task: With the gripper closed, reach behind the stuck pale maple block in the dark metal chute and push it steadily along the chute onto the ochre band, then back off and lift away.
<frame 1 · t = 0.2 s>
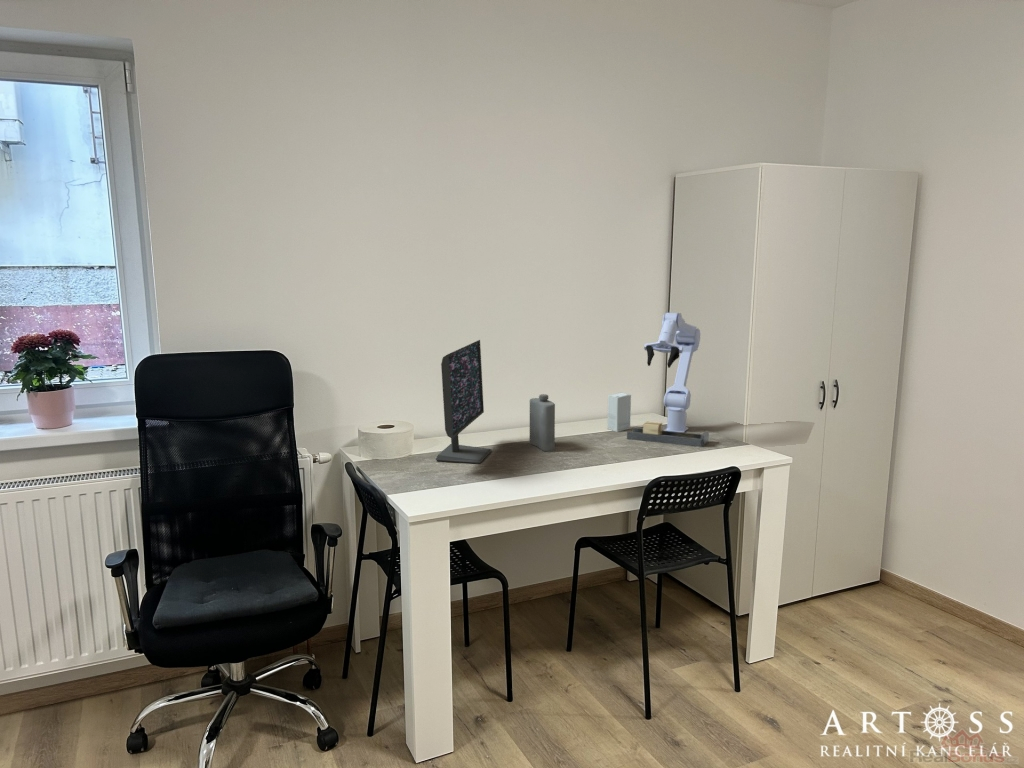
hand: (658, 365, 286), 31 cm above the table, tool tilted 45°, fingers open, 7 cm apart
flask: (542, 447, 290), on the table
computer monitor: (464, 457, 276), on the table
skincare box: (618, 429, 318), on the table
maple block: (652, 429, 302), point 4 cm above the table, slide at 0.0 cm
chute: (667, 440, 300), on the table
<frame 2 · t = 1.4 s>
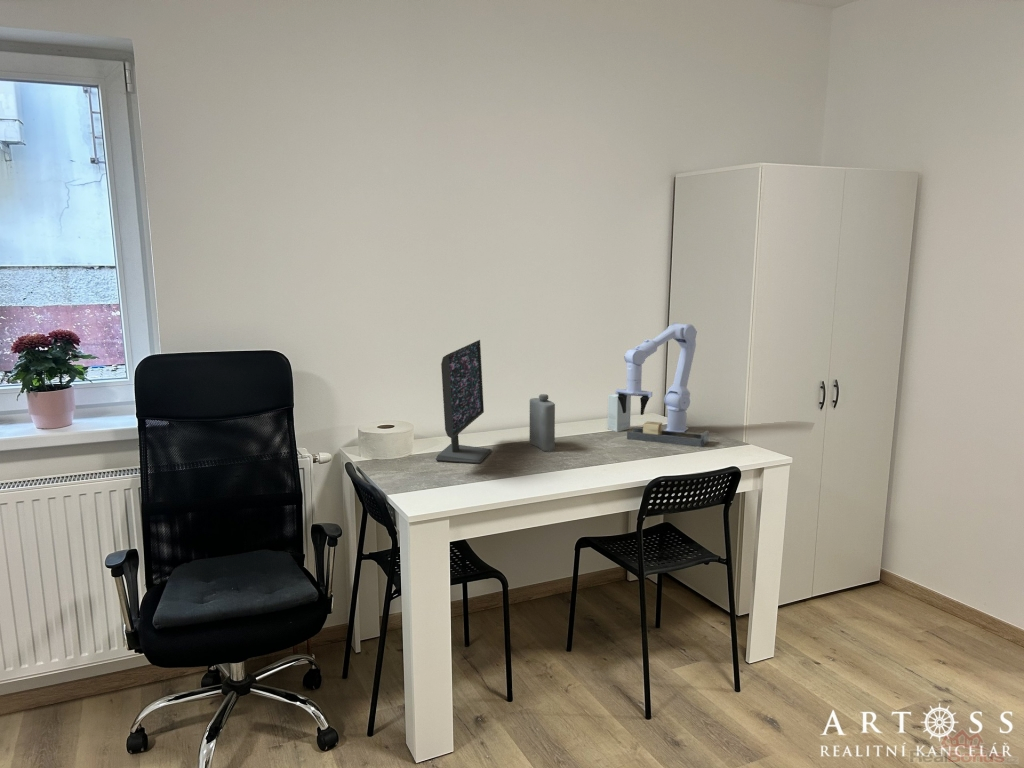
hand: (633, 413, 304), 9 cm above the table, tool pointing down, fingers open, 7 cm apart
nothing on the table moved.
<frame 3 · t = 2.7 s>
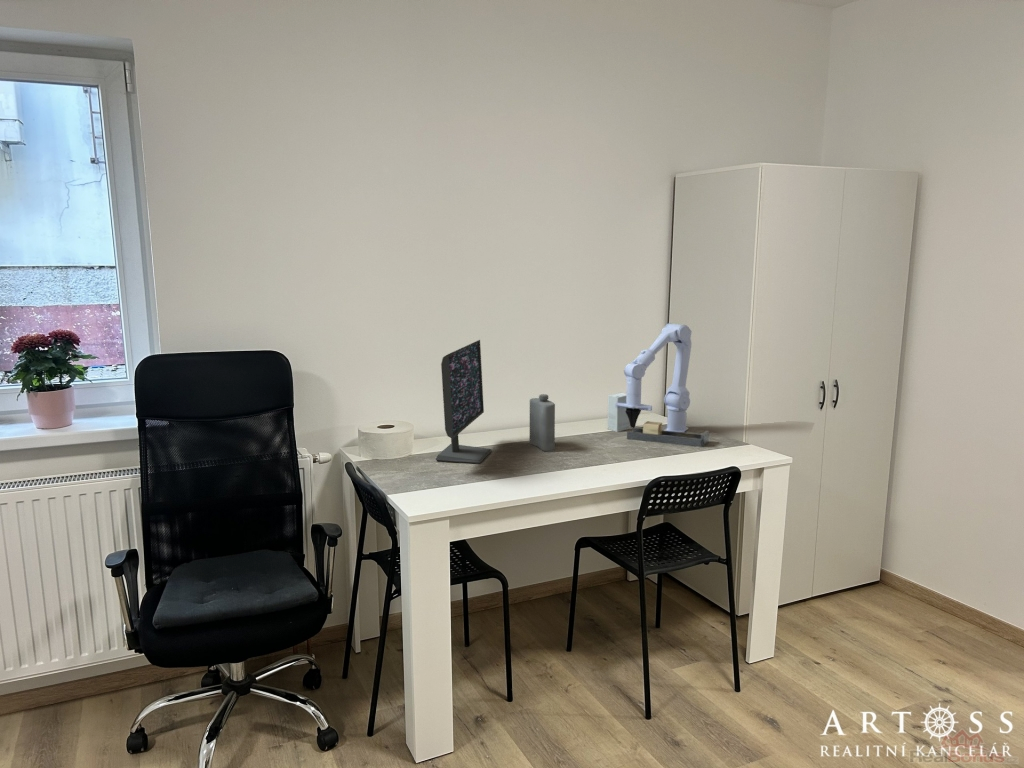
hand: (632, 427, 305), 4 cm above the table, tool pointing down, fingers closed
nothing on the table moved.
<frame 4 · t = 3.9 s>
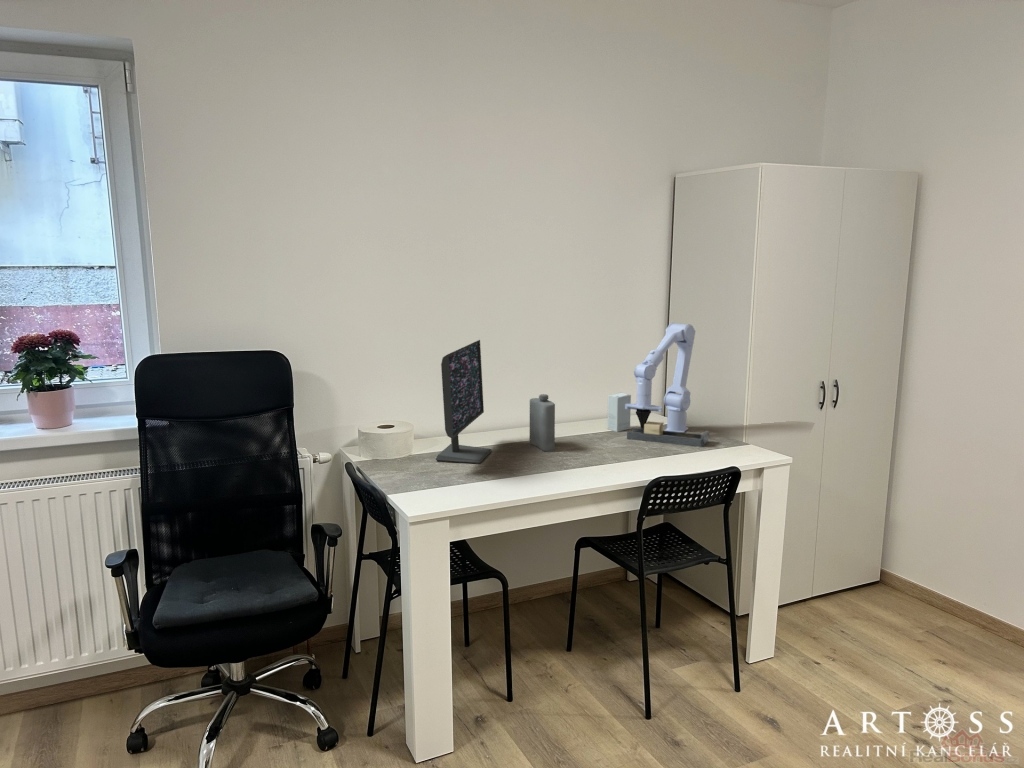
hand: (643, 428, 303), 4 cm above the table, tool pointing down, fingers closed
maple block: (653, 429, 301), point 4 cm above the table, slide at 0.4 cm, touching gripper
everything else where it was.
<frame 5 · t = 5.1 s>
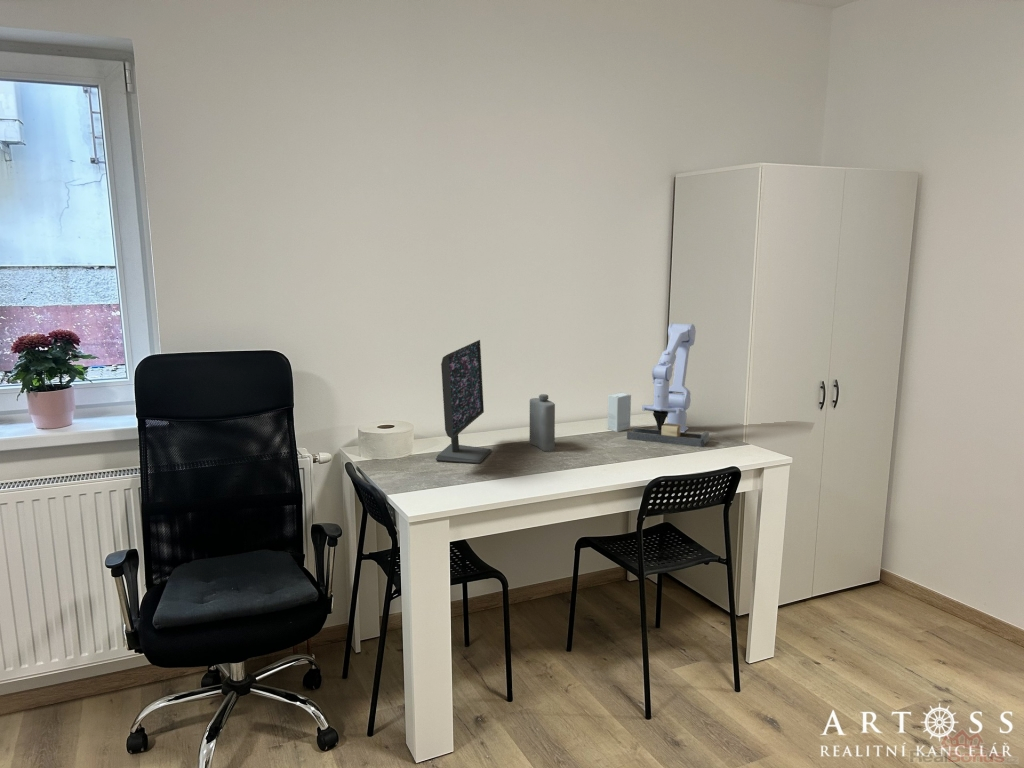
hand: (660, 429, 300), 4 cm above the table, tool pointing down, fingers closed
maple block: (671, 431, 298), point 4 cm above the table, slide at 7.4 cm, touching gripper
everything else where it was.
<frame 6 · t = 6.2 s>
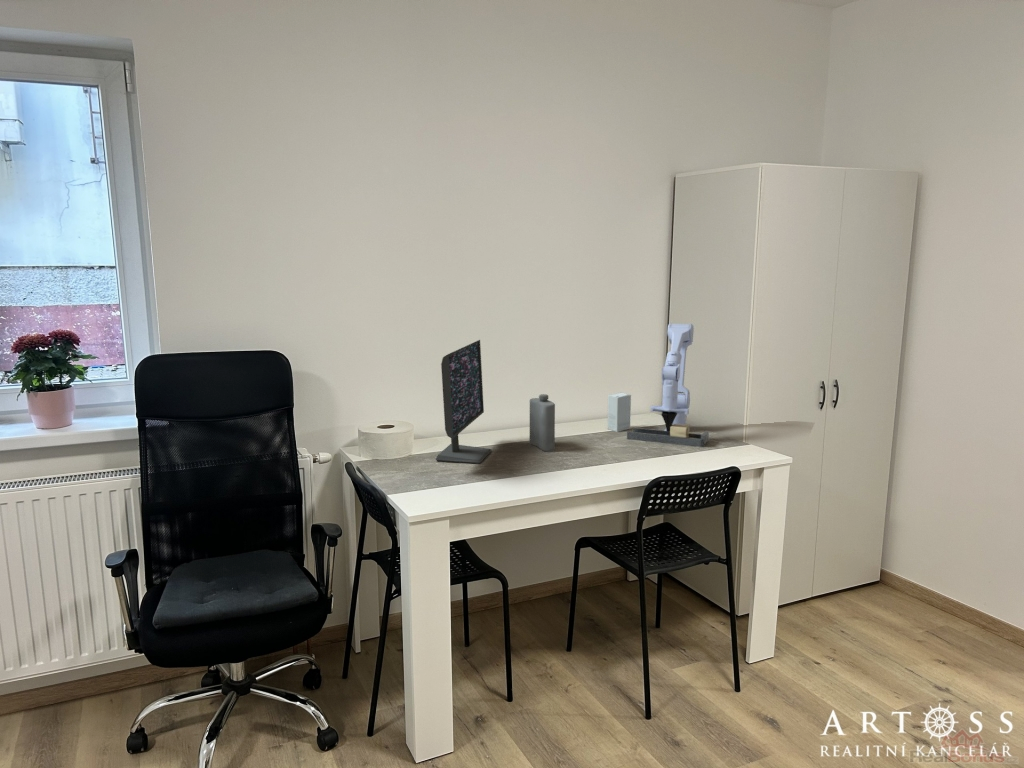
hand: (668, 430, 299), 4 cm above the table, tool pointing down, fingers closed
maple block: (679, 432, 297), point 4 cm above the table, slide at 10.8 cm, touching gripper
everything else where it was.
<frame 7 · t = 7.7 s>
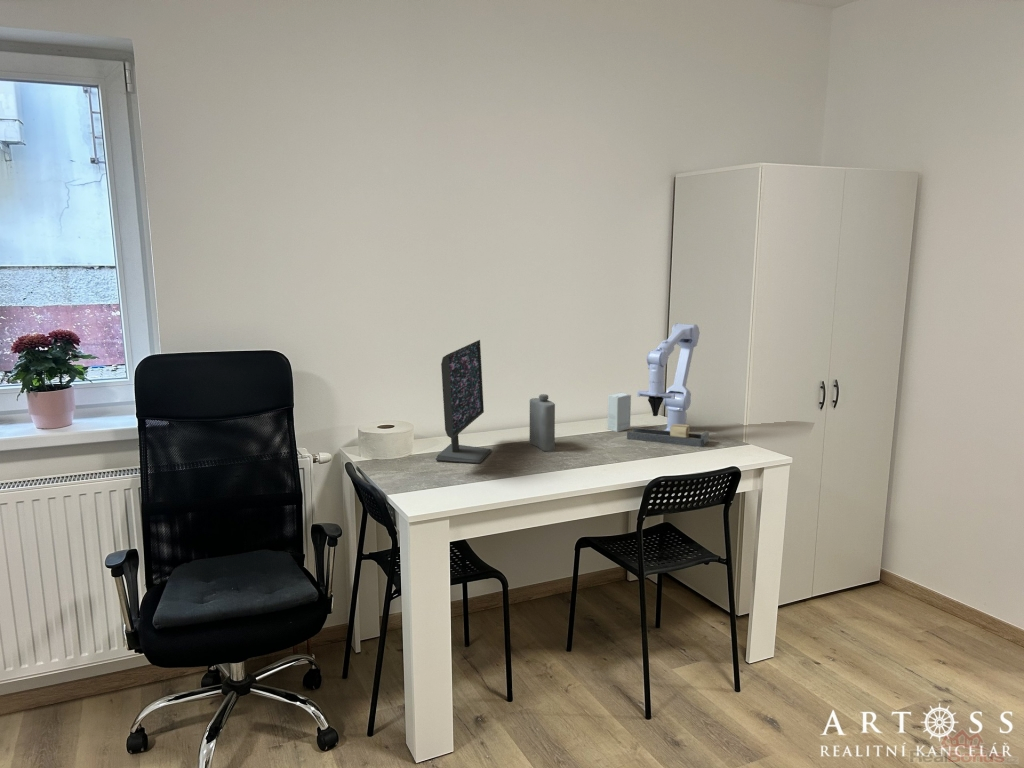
hand: (655, 415, 300), 9 cm above the table, tool pointing down, fingers closed
maple block: (679, 432, 297), point 4 cm above the table, slide at 10.8 cm
everything else where it was.
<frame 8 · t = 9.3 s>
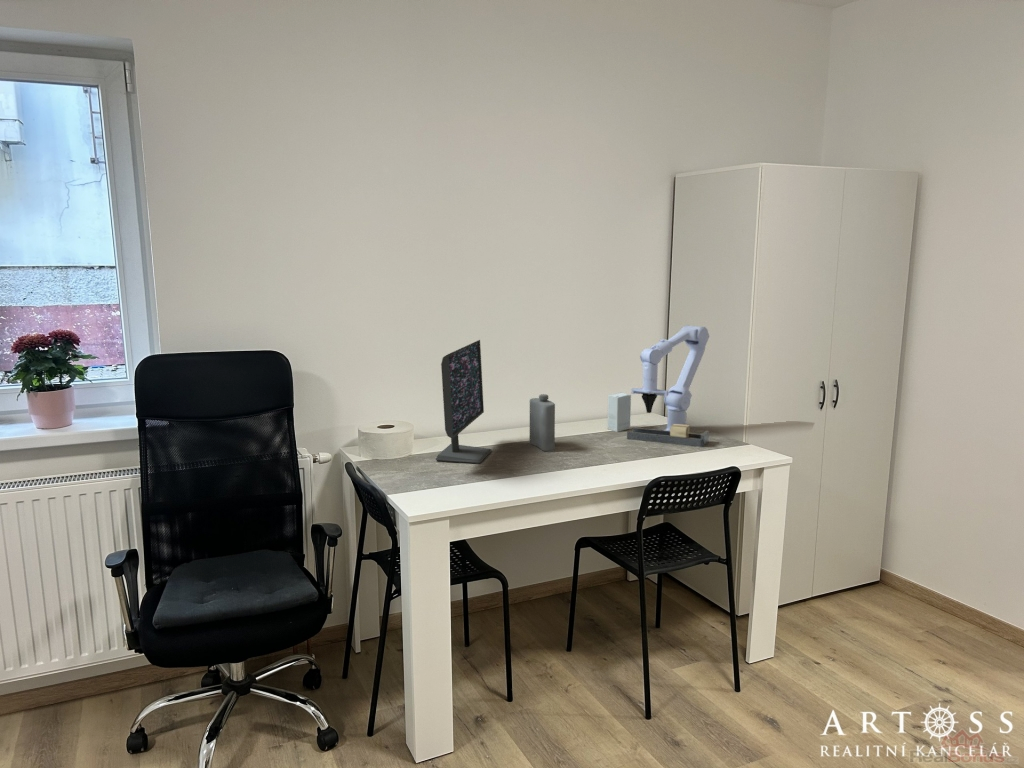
hand: (649, 412, 306), 9 cm above the table, tool pointing down, fingers closed
nothing on the table moved.
at the end: maple block slide at 10.8 cm; skincare box moved 0.2 cm from its start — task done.
